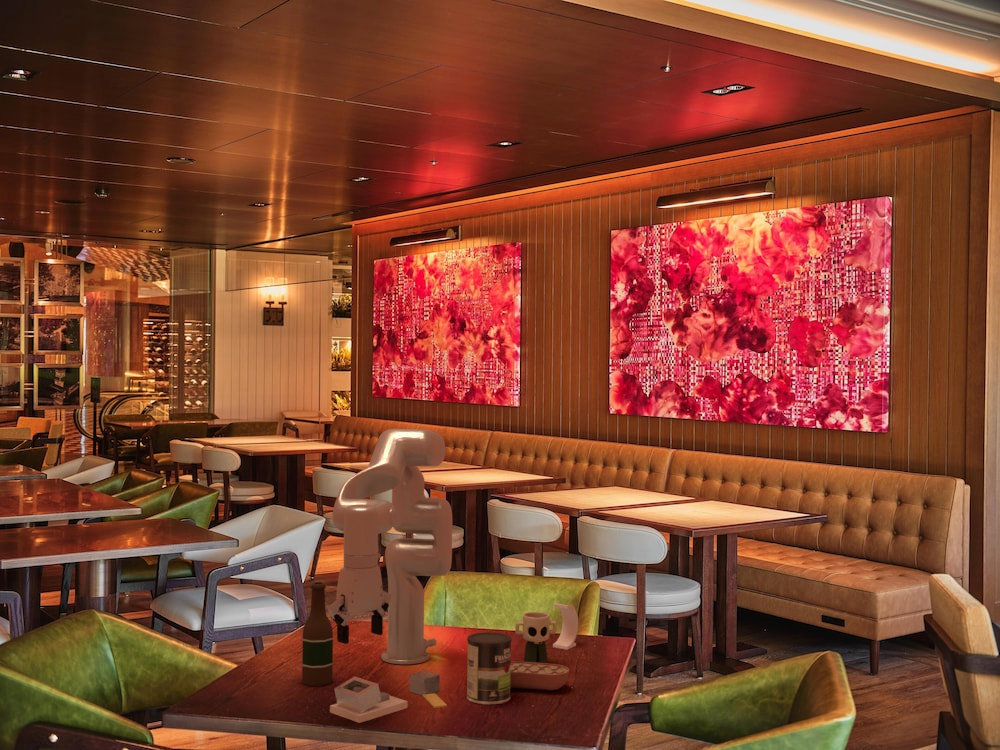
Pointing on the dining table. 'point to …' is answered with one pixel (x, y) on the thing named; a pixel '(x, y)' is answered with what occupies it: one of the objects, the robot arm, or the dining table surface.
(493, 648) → the coffee can
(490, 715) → the dining table surface
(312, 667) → the beer bottle
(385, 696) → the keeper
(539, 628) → the character mug
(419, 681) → the block
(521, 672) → the mitochondrion model
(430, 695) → the yellow flat bar
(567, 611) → the headphone stand
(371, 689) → the link
